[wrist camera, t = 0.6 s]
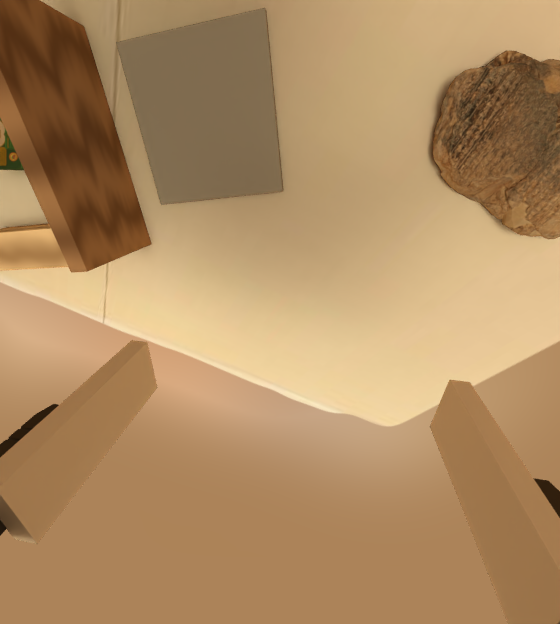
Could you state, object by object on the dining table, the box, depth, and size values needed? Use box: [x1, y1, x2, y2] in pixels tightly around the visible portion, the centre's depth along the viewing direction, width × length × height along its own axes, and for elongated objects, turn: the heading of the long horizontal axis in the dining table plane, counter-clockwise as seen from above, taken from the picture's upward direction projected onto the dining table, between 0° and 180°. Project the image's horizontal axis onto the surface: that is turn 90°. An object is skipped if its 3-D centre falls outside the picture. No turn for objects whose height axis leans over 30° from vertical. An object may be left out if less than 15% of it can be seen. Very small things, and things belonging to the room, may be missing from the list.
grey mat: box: [116, 8, 283, 205], centre depth 31 cm, size 16×16×1 cm
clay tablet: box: [433, 51, 560, 239], centre depth 27 cm, size 14×5×20 cm
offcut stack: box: [0, 224, 68, 271], centre depth 39 cm, size 5×18×7 cm, turn 96°
